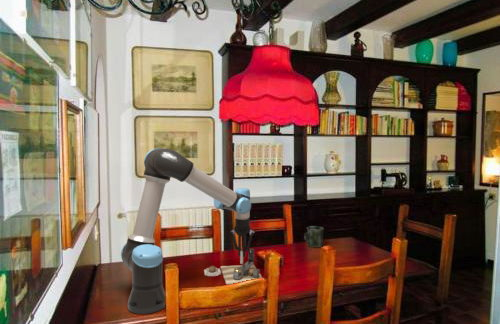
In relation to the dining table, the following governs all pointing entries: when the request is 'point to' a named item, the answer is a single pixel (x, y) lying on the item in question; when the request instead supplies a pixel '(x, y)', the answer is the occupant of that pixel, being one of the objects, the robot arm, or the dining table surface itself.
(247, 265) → the lever
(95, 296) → the dining table surface
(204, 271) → the dish
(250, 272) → the walnut
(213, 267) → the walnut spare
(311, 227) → the mug
